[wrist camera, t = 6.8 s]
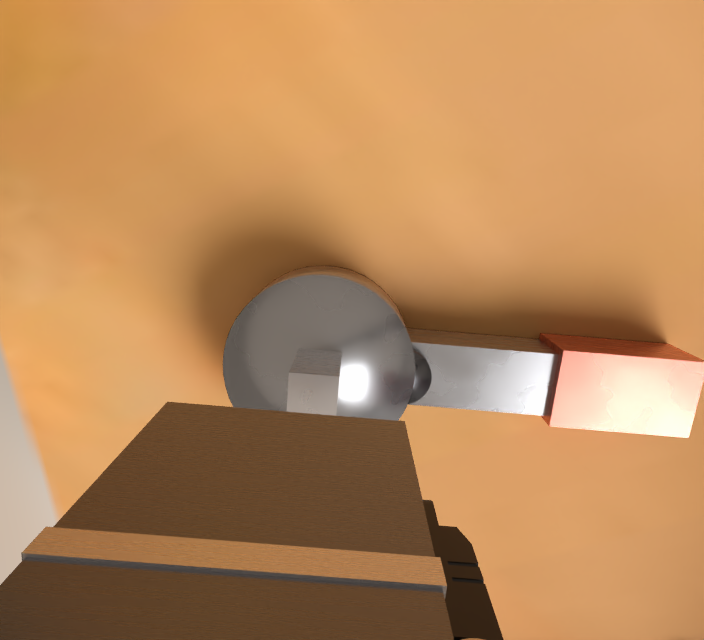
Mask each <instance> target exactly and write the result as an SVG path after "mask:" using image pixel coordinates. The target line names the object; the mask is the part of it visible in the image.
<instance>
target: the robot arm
mask: <svg viewBox="0 0 704 640" xmlns="http://www.w3.org/2000/svg"><path fill="white" fill-rule="evenodd" d="M422 501H423V505H424V509H425V514H426V518H427V523H428V527H429V532H430V536H431V540H432V545H433V549H434V554H435V557H440V558H441V562H442V567H443V571H444V575H445V579H446V583H447V590H446V596H445V602H446V607H447V611H448V616H449V620H450V625H451V629H452V633H453V638H454V640H503V637H502V634H501V631H500V628H499V625H498V622H497V619H496V616H495V613H494V610H493V607H492V604H491V601H490V598H489V595H488V592H487V589H486V586H485V584H484V583H483V577H482V574H481V571H480V568H479V567H478V562H477V559H476V556H475V553H474V550H473V547H472V544H471V543H470V542H469V541H468V540H467V538H466V537H465V536H464V535H463V534H462V533H461V532H460V531H459V529H458V528H457V527H449V526H439V525H438V521H437V517H436V513H435V509H434V505H433V502H432V501H431V500H422Z"/></svg>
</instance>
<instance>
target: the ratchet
mask: <svg viewBox="0 0 704 640" xmlns="http://www.w3.org/2000/svg"><path fill="white" fill-rule="evenodd" d="M223 375H224V381H225V386H226V390H227V393H228V396H229V399H230V401H231V403H232V405H233V407H237V408H249V409H261V410H273V411H285V412H297V413H310V414H322V415H334V416H346V417H358V418H370V419H382V420H395V421H398V420H399V418H400V417H401V415H402V414H403V412H404V411H405V408H406V406H407V404H410V405H422V406H434V407H446V408H458V409H470V410H482V411H494V412H506V413H518V414H530V415H540V416H541V417H542V418H543V419H544V420H545V422H546V423H547V424H548V425H549V426H552V427H564V428H576V429H588V430H600V431H612V432H624V433H636V434H648V435H660V436H672V437H684V438H689V434H690V430H691V427H692V423H693V419H694V415H695V411H696V407H697V403H698V399H699V396H700V392H701V388H702V384H703V380H704V360H702V359H699V358H697V357H695V356H693V355H691V354H689V353H687V352H685V351H682V350H680V349H678V348H676V347H674V346H672V345H670V344H665V343H653V342H642V341H630V340H618V339H606V338H594V337H582V336H570V335H558V334H546V333H540V338H539V339H531V338H519V337H507V336H495V335H484V334H472V333H460V332H448V331H436V330H424V329H412V328H406V326H405V323H404V321H403V318H402V316H401V314H400V312H399V310H398V308H397V306H396V305H395V303H394V302H393V301H392V299H391V298H390V296H389V295H388V294H387V293H386V292H385V291H384V290H383V289H382V288H381V287H379V286H378V285H377V284H376V283H374V282H373V281H372V280H370V279H368V278H367V277H365V276H363V275H361V274H359V273H356V272H354V271H352V270H348V269H345V268H341V267H334V266H311V267H305V268H301V269H297V270H294V271H291V272H289V273H286V274H284V275H282V276H281V277H279V278H277V279H275V280H274V281H273V282H271V283H270V284H269V285H267V286H266V287H265V288H264V289H263V290H262V291H261V292H260V293H259V294H258V295H257V296H256V297H255V298H254V299H253V300H252V301H251V302H250V303H249V304H248V305H247V306H246V307H245V308H244V309H243V310H242V312H241V313H240V314H239V315H238V317H237V318H236V320H235V322H234V324H233V326H232V327H231V330H230V332H229V335H228V337H227V340H226V345H225V349H224V356H223Z"/></svg>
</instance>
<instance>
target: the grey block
mask: <svg viewBox="0 0 704 640" xmlns="http://www.w3.org/2000/svg"><path fill="white" fill-rule="evenodd" d="M446 590H447V583H446V579H445V575H444V571H443V567H442V562H441V558H440V557H435V554H434V549H433V545H432V540H431V536H430V532H429V527H428V523H427V518H426V514H425V509H424V505H423V501H422V496H421V492H420V487H419V483H418V478H417V474H416V470H415V465H414V461H413V456H412V452H411V447H410V443H409V439H408V434H407V430H406V425H405V421H395V420H382V419H370V418H358V417H346V416H334V415H322V414H310V413H297V412H285V411H273V410H261V409H249V408H237V407H225V406H212V405H200V404H188V403H176V402H167V403H166V404H165V405H164V406H163V407H162V408H161V409H160V411H159V412H158V413H157V414H156V415H155V416H154V417H153V418H152V419H151V420H150V422H149V423H148V424H147V425H146V426H145V427H144V428H143V429H142V430H141V431H140V432H139V434H138V435H137V436H136V437H135V438H134V439H133V440H132V441H131V442H130V443H129V445H128V446H127V447H126V448H125V449H124V450H123V451H122V452H121V453H120V454H119V456H118V457H117V458H116V459H115V460H114V461H113V462H112V463H111V464H110V465H109V466H108V468H107V469H106V470H105V471H104V472H103V473H102V474H101V475H100V476H99V477H98V479H97V480H96V481H95V482H94V483H93V484H92V485H91V486H90V487H89V488H88V490H87V491H86V492H85V493H84V494H83V495H82V496H81V497H80V498H79V499H78V500H77V502H76V503H75V504H74V505H73V506H72V507H71V508H70V509H69V510H68V511H67V513H66V514H65V515H64V516H63V517H62V518H61V519H60V520H59V521H58V522H57V524H56V525H55V526H54V527H45V528H44V529H43V531H42V532H41V533H40V534H39V535H38V536H37V537H36V538H35V539H34V540H33V542H31V543H30V545H29V546H28V547H27V548H26V549H25V550H24V551H23V552H22V562H21V563H20V564H19V565H18V566H17V567H16V568H15V570H14V571H13V572H12V573H11V574H10V575H9V576H8V577H7V578H6V579H5V581H4V582H3V583H2V584H1V585H0V640H454V638H453V633H452V629H451V625H450V620H449V616H448V611H447V607H446V602H445V596H446Z"/></svg>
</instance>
